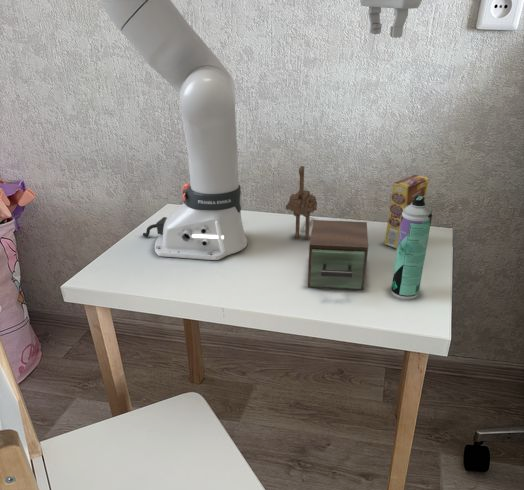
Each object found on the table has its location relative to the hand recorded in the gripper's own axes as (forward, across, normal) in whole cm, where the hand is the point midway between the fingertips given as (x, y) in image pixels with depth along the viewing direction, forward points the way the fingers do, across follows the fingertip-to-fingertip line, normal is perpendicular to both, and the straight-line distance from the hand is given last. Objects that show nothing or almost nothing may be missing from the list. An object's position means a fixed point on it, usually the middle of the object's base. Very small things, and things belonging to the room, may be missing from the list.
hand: (385, 35), depth 103 cm
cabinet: (+44, +12, -12) cm, 47 cm away
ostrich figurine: (+44, -14, -11) cm, 47 cm away
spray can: (+44, +24, -2) cm, 50 cm away
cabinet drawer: (+43, +15, -13) cm, 48 cm away
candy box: (+44, 0, +9) cm, 45 cm away
